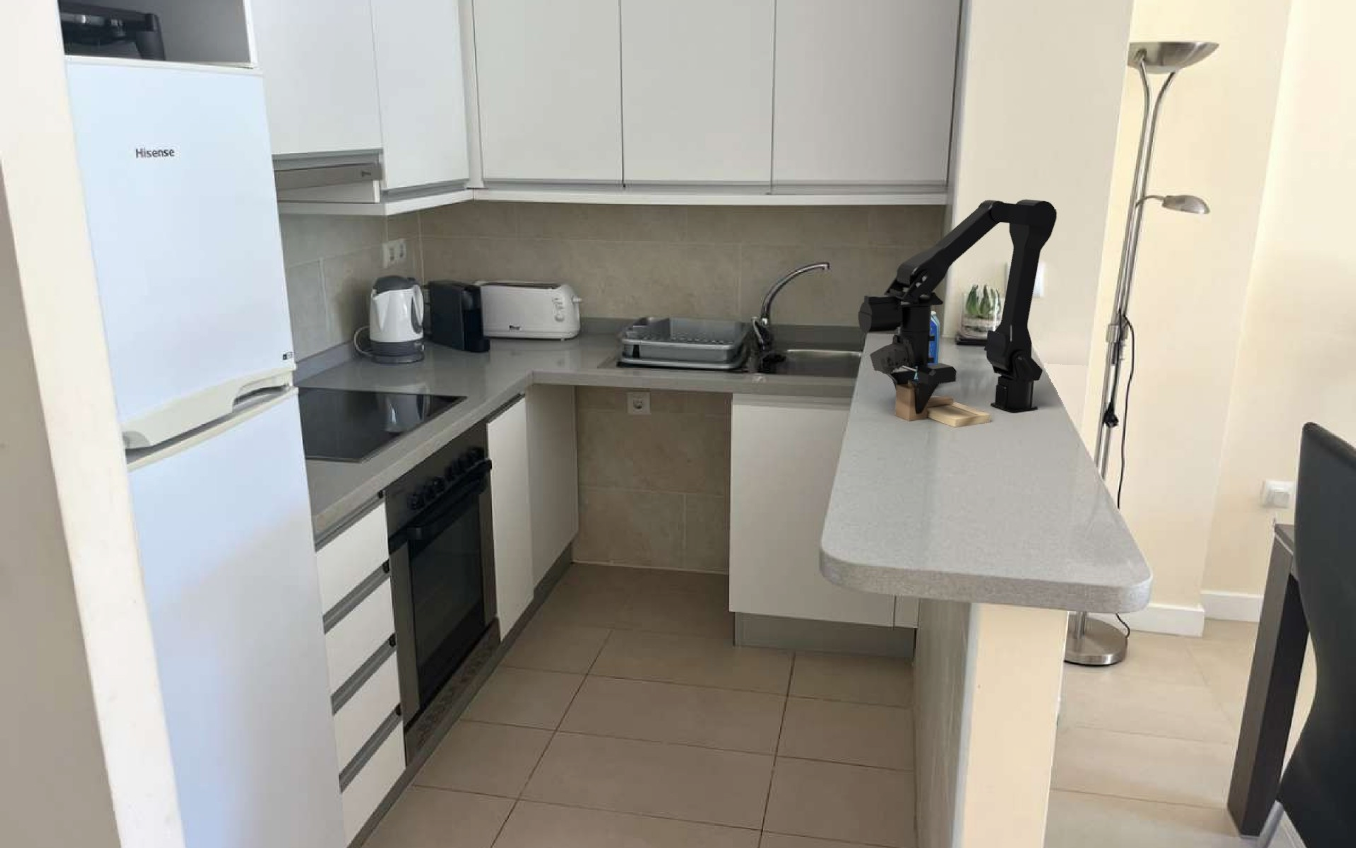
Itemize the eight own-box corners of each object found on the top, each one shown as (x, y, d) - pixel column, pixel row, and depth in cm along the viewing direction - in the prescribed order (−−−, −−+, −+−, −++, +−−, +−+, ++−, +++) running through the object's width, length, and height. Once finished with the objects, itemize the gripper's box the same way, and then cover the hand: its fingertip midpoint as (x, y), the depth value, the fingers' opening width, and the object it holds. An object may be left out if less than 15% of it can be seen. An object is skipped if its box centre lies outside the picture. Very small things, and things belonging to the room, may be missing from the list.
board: (935, 402, 200) (936, 395, 199) (989, 422, 186) (990, 414, 185) (902, 407, 197) (902, 400, 196) (954, 427, 183) (955, 419, 182)
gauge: (941, 408, 195) (943, 373, 194) (956, 413, 192) (958, 378, 190) (895, 415, 191) (896, 379, 189) (909, 420, 187) (910, 384, 185)
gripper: (850, 325, 191) (847, 404, 195) (908, 342, 174) (904, 428, 178) (898, 320, 195) (895, 398, 199) (960, 336, 178) (955, 420, 183)
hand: (911, 410), depth 190 cm, fingers closed on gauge, 4 cm apart
